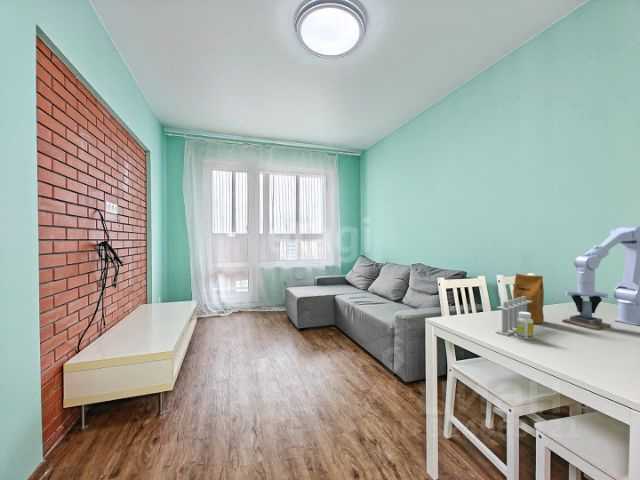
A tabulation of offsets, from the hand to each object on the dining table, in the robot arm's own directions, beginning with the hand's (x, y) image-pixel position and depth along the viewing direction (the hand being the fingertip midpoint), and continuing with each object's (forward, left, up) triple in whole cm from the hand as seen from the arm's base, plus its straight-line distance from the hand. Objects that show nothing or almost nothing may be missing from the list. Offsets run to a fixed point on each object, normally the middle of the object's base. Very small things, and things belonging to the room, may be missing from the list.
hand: (585, 312), depth 127 cm
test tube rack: (+36, -8, -6) cm, 37 cm away
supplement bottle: (+42, 0, -6) cm, 42 cm away
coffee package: (+18, -14, -6) cm, 23 cm away
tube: (0, 0, -3) cm, 3 cm away
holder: (0, 0, -5) cm, 5 cm away
